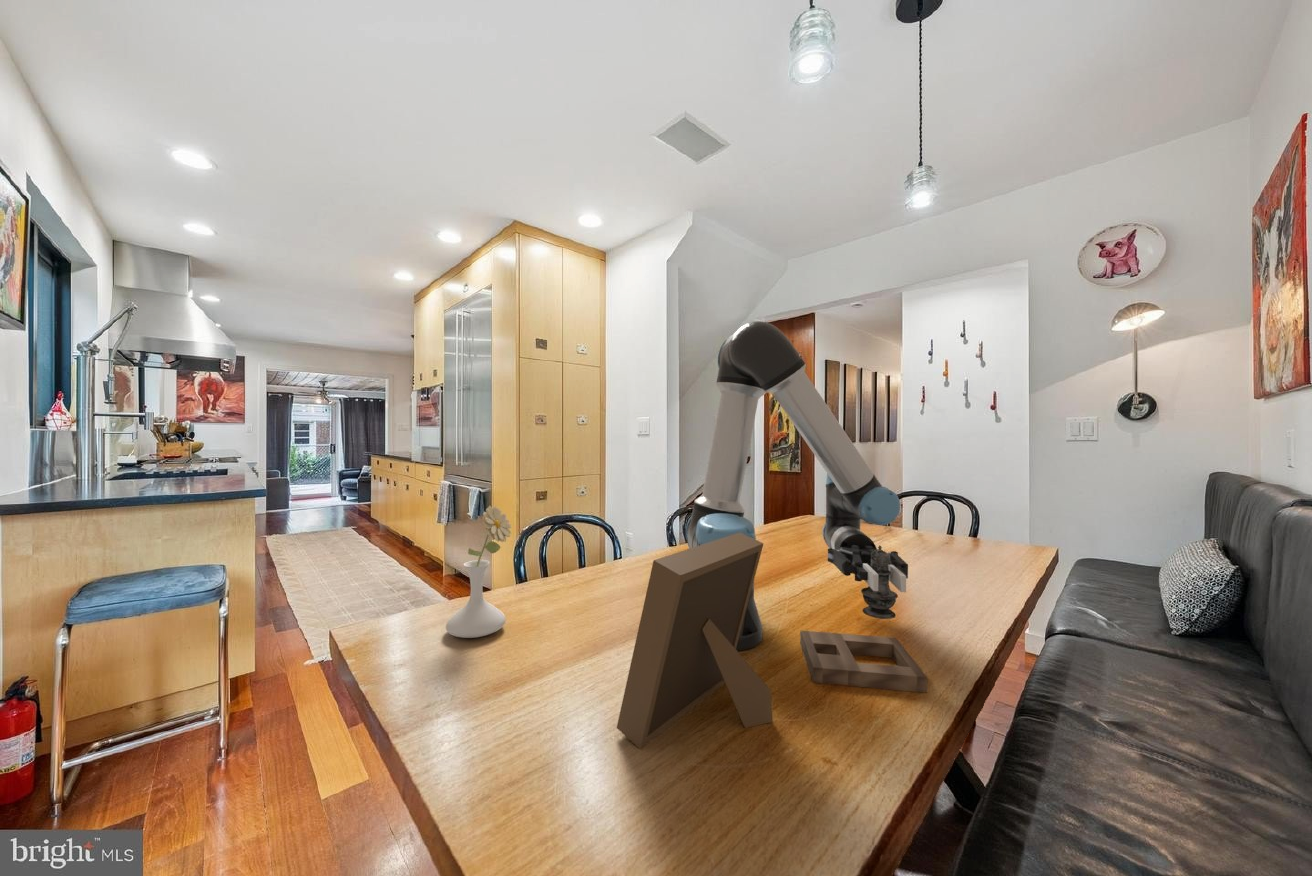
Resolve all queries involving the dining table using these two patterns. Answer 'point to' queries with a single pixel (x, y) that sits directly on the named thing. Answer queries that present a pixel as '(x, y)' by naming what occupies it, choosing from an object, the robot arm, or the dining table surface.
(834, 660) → the socket board
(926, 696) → the dining table surface
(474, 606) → the flower in vase
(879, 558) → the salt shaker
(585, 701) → the dining table surface
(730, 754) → the dining table surface
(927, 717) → the dining table surface
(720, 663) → the photo frame
